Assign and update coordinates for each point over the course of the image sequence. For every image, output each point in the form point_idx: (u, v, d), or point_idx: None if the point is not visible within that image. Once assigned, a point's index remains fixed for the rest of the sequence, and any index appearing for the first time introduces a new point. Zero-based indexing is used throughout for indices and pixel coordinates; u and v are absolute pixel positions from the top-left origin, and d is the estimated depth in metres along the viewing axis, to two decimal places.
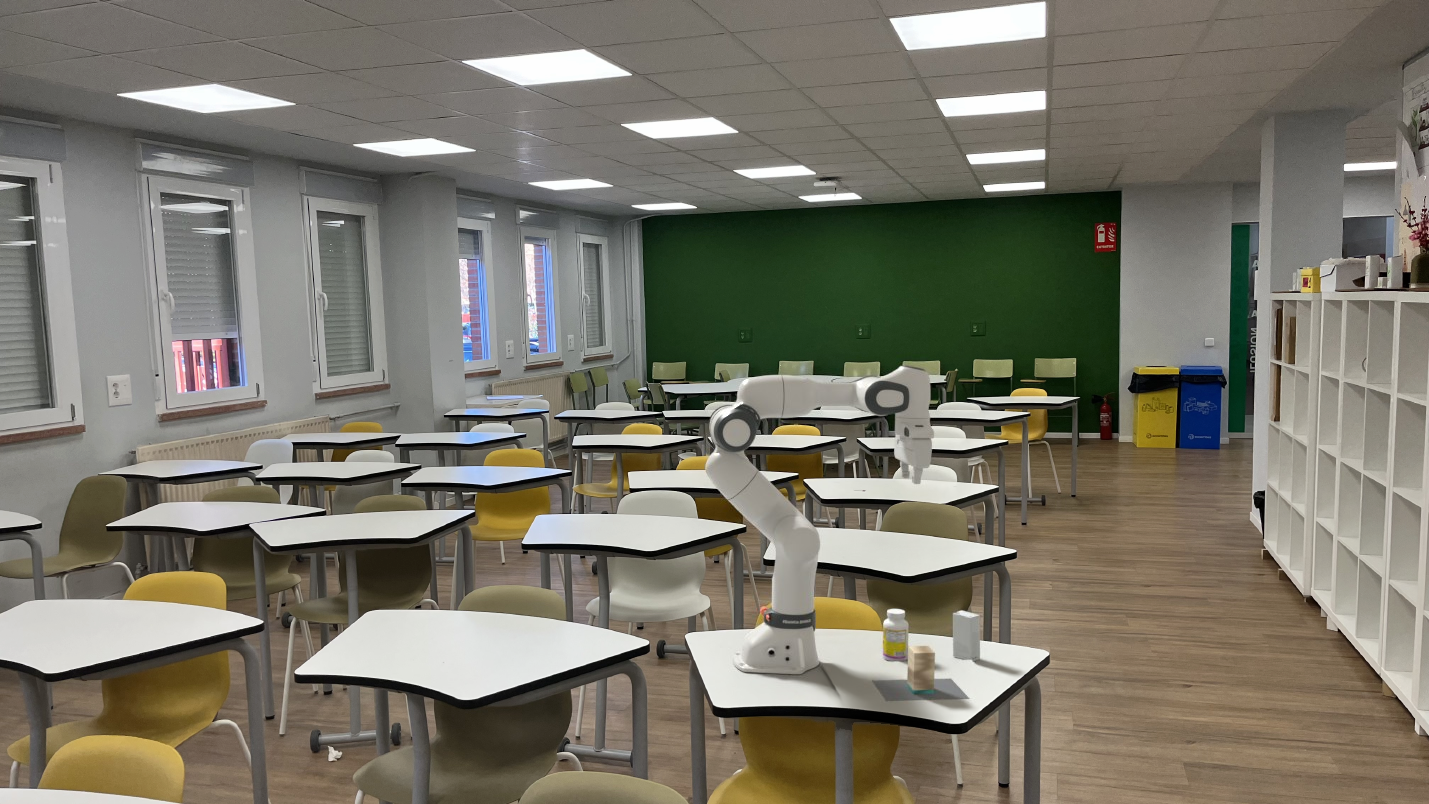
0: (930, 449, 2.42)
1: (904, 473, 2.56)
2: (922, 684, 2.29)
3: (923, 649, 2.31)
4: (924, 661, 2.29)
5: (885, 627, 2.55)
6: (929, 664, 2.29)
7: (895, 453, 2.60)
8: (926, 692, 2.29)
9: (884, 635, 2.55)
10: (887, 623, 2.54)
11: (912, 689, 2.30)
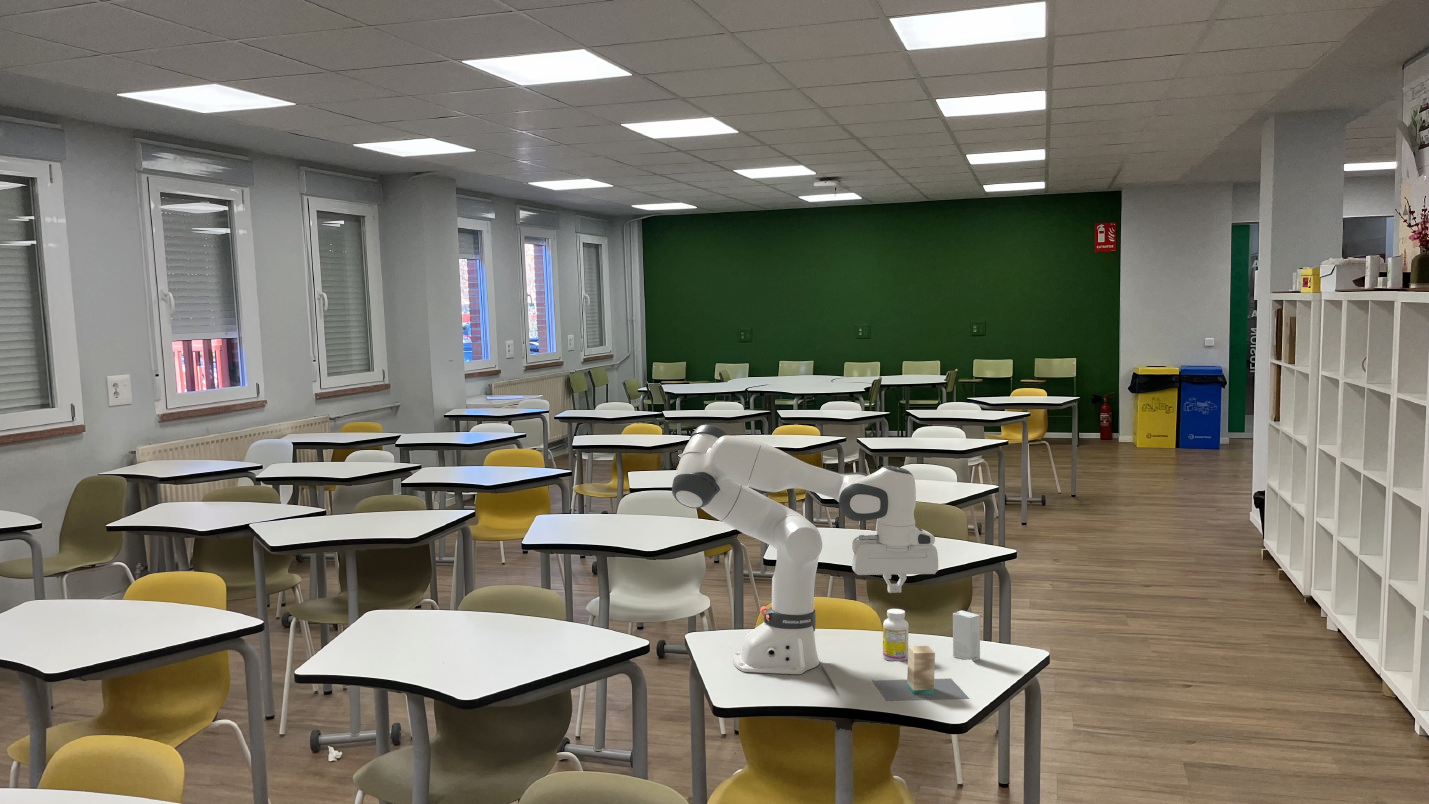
0: None
1: None
2: (922, 684, 2.29)
3: (923, 649, 2.31)
4: (924, 661, 2.29)
5: (885, 627, 2.55)
6: (929, 664, 2.29)
7: (862, 569, 2.26)
8: (926, 692, 2.29)
9: (884, 635, 2.55)
10: (887, 623, 2.54)
11: (912, 689, 2.30)
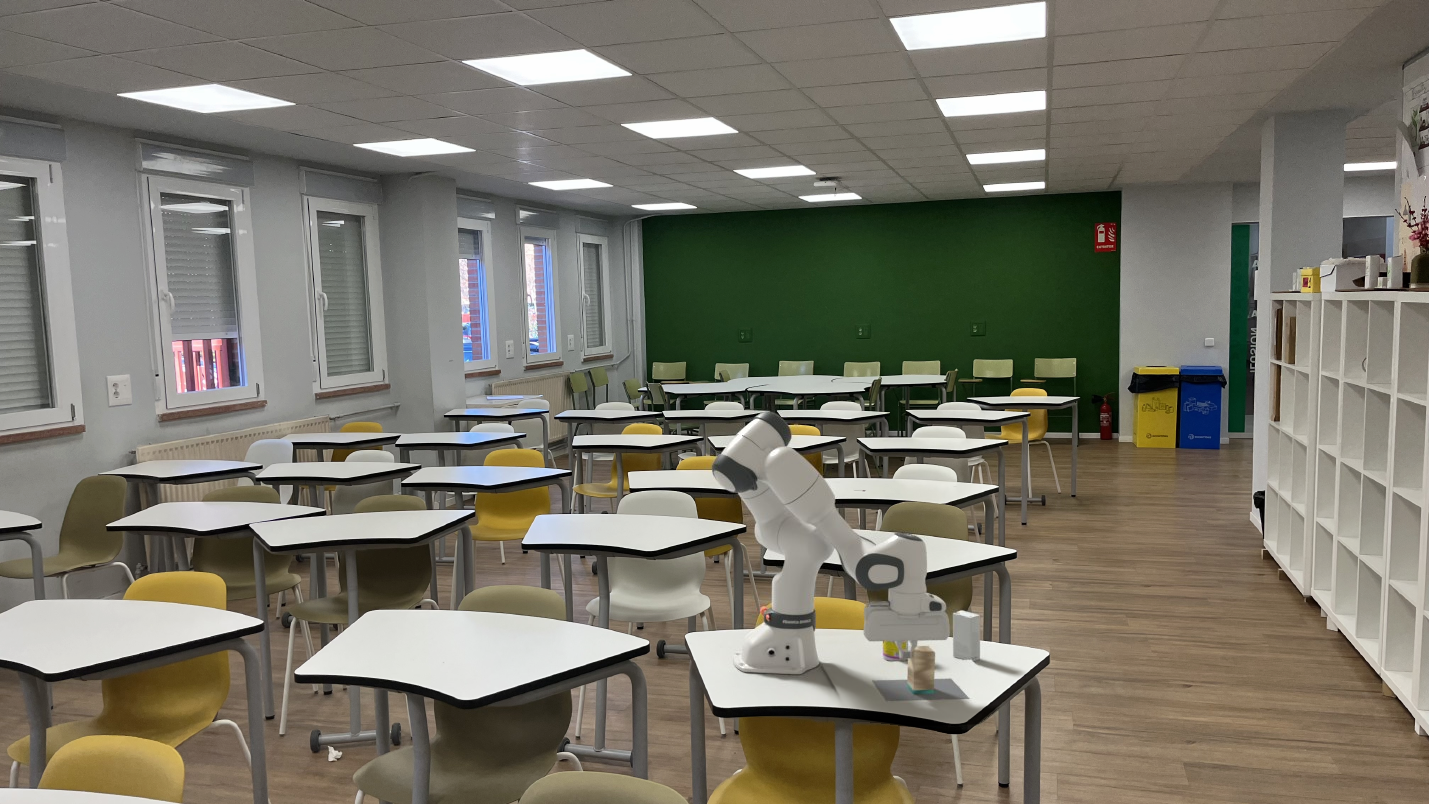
0: None
1: None
2: (923, 684, 2.29)
3: (923, 649, 2.31)
4: (924, 661, 2.29)
5: None
6: (929, 664, 2.29)
7: (873, 636, 2.28)
8: (926, 692, 2.29)
9: None
10: None
11: (912, 689, 2.30)
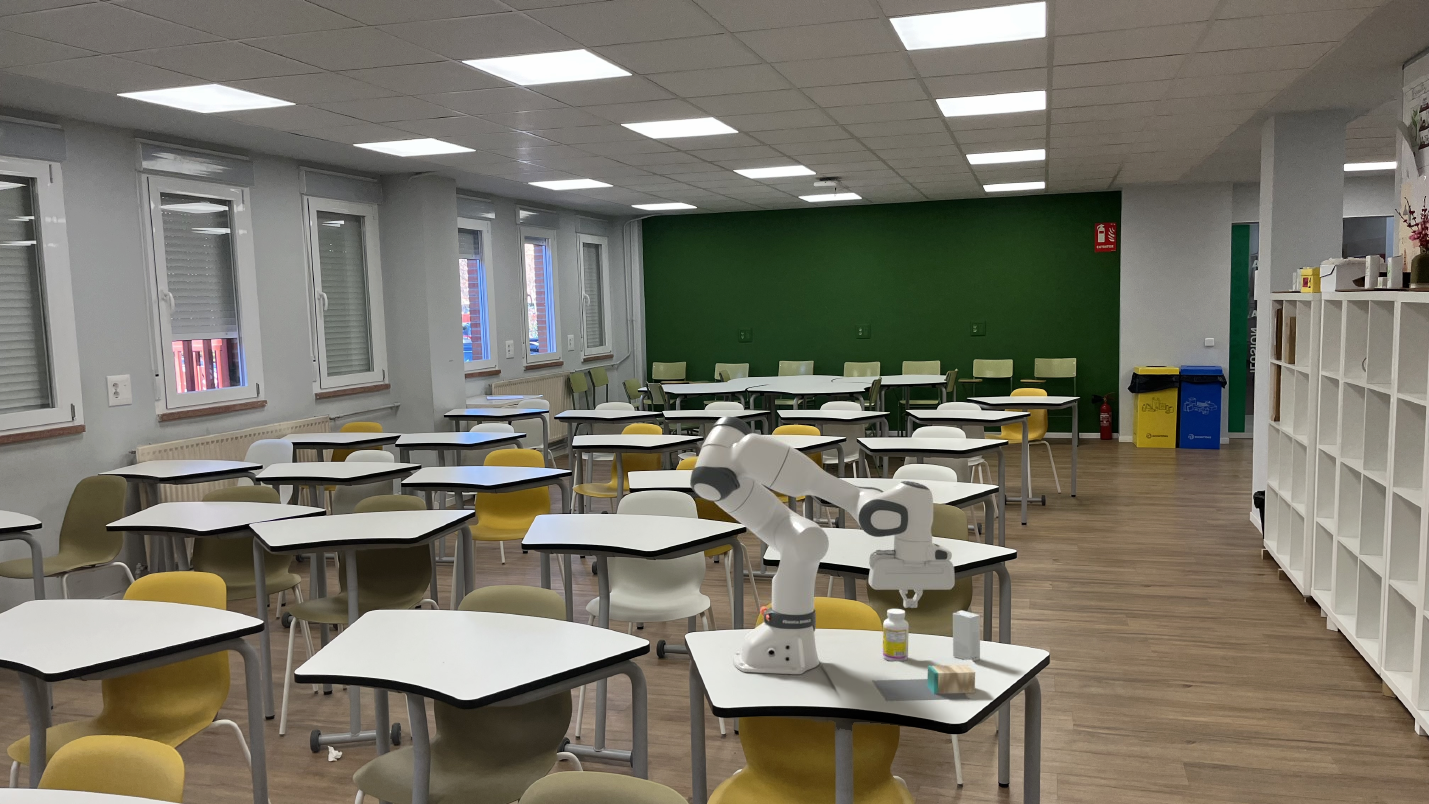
0: None
1: None
2: (943, 682, 2.30)
3: None
4: (966, 682, 2.30)
5: (885, 627, 2.55)
6: (963, 688, 2.30)
7: (879, 584, 2.27)
8: (935, 686, 2.30)
9: (884, 635, 2.55)
10: (887, 623, 2.54)
11: (937, 672, 2.30)
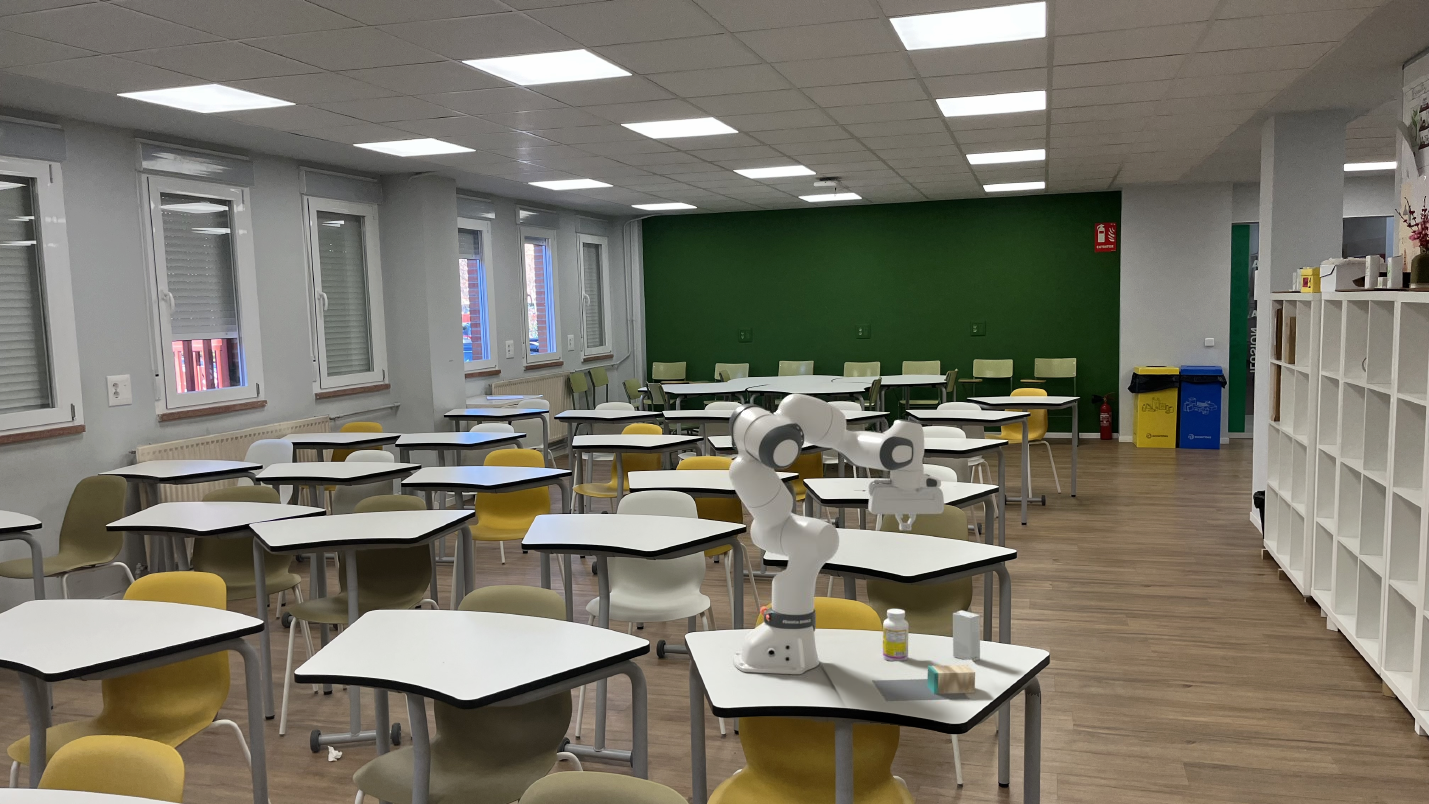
0: None
1: None
2: (943, 682, 2.30)
3: None
4: (966, 682, 2.30)
5: (885, 627, 2.55)
6: (963, 688, 2.30)
7: (877, 509, 2.58)
8: (935, 686, 2.30)
9: (884, 635, 2.55)
10: (887, 623, 2.54)
11: (937, 672, 2.30)
